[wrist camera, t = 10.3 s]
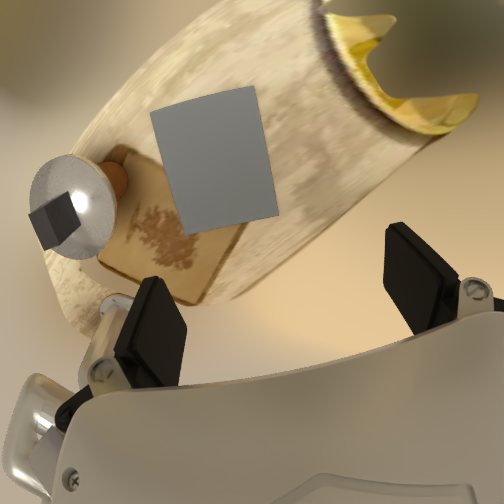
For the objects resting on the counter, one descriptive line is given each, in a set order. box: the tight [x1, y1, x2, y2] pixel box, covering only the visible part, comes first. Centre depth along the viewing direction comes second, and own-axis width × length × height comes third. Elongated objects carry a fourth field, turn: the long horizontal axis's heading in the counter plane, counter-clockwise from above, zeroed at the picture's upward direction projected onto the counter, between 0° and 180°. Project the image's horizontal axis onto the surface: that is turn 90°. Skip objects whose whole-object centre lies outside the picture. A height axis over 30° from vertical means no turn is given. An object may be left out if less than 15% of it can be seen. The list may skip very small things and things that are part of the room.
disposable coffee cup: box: [96, 161, 128, 202], centre depth 32 cm, size 10×10×12 cm
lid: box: [29, 154, 118, 260], centre depth 24 cm, size 13×13×6 cm
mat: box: [150, 86, 279, 235], centre depth 37 cm, size 20×15×1 cm
